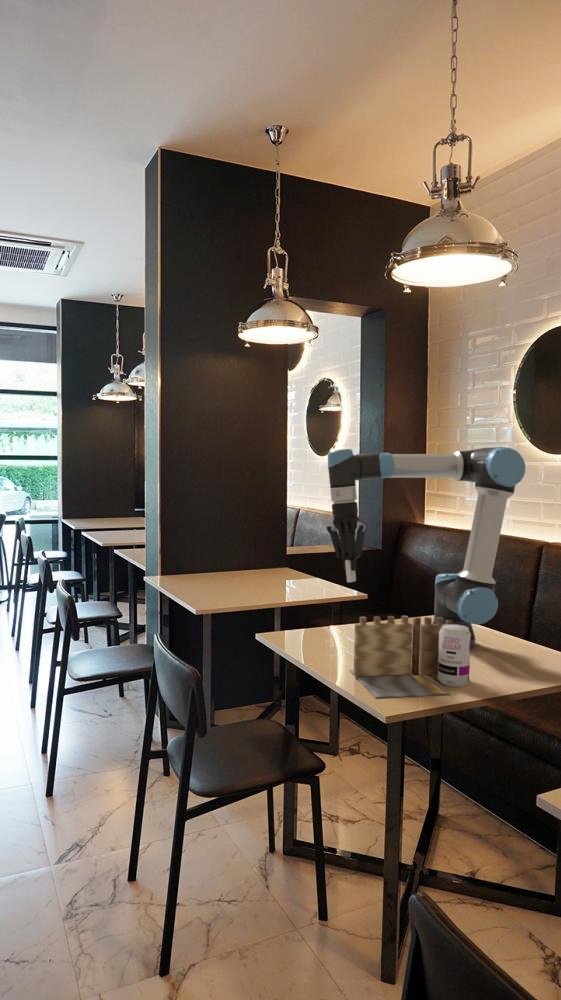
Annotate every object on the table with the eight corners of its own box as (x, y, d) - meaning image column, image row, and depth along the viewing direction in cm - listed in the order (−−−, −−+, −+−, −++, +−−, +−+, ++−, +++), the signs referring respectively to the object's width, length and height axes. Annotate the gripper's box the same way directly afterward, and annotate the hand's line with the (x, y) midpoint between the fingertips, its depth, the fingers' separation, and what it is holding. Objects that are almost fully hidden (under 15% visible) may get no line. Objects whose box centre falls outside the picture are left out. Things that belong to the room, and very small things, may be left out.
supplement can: (463, 677, 184) (465, 623, 183) (472, 687, 175) (475, 631, 175) (434, 677, 183) (436, 623, 183) (442, 687, 175) (444, 630, 174)
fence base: (441, 667, 193) (443, 612, 192) (478, 693, 171) (480, 631, 170) (349, 670, 187) (351, 614, 186) (375, 698, 166) (377, 634, 165)
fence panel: (408, 672, 185) (410, 615, 184) (411, 674, 184) (412, 616, 183) (353, 674, 182) (355, 616, 181) (355, 676, 181) (356, 618, 180)
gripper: (318, 504, 198) (326, 583, 198) (356, 501, 189) (363, 584, 190) (333, 502, 203) (340, 579, 204) (369, 499, 195) (377, 579, 196)
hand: (351, 581), depth 197 cm, fingers closed
